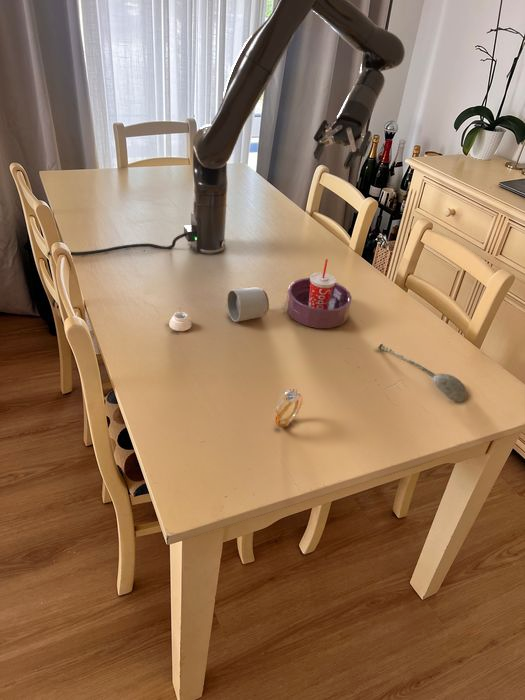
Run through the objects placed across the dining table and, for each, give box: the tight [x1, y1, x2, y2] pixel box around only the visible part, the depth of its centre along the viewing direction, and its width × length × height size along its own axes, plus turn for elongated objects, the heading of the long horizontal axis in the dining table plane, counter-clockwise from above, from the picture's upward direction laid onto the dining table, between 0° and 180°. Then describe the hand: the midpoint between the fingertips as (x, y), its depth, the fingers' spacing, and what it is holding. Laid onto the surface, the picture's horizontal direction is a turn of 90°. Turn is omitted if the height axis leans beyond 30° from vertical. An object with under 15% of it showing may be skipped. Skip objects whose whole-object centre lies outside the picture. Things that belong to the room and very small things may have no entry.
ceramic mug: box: [226, 287, 270, 323], centre depth 123 cm, size 11×8×8 cm
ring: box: [273, 388, 304, 429], centre depth 94 cm, size 7×3×8 cm, turn 135°
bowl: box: [285, 277, 352, 329], centre depth 127 cm, size 15×15×6 cm
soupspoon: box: [377, 343, 468, 403], centre depth 112 cm, size 22×3×7 cm
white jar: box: [168, 311, 192, 332], centre depth 117 cm, size 5×3×5 cm
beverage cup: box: [308, 258, 337, 309], centre depth 124 cm, size 6×6×14 cm
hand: (330, 163), depth 133 cm, fingers open, 8 cm apart
